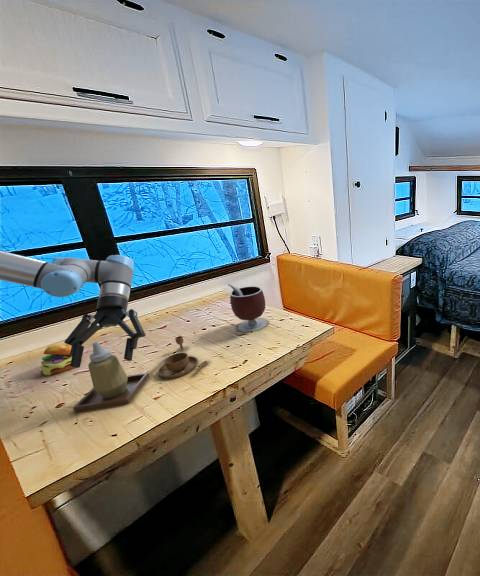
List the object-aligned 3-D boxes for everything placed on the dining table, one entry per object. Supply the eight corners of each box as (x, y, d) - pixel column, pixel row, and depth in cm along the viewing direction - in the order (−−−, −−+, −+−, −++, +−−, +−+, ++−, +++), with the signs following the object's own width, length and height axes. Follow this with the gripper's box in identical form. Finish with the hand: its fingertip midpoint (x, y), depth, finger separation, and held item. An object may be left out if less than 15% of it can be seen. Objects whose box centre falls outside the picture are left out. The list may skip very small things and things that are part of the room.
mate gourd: (275, 320, 143) (268, 280, 136) (256, 335, 130) (248, 291, 124) (246, 318, 147) (238, 278, 140) (226, 331, 134) (216, 289, 127)
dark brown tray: (75, 413, 88) (72, 407, 88) (103, 384, 101) (101, 379, 100) (129, 404, 91) (127, 399, 91) (149, 377, 104) (148, 372, 103)
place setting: (142, 380, 102) (136, 365, 100) (179, 348, 121) (176, 335, 119) (193, 379, 102) (189, 364, 100) (223, 348, 121) (220, 335, 119)
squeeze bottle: (90, 402, 92) (68, 350, 86) (112, 384, 100) (93, 336, 94) (118, 400, 92) (97, 349, 86) (137, 383, 100) (119, 335, 94)
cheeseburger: (32, 376, 106) (28, 348, 105) (68, 365, 116) (65, 339, 115) (56, 377, 104) (53, 349, 103) (90, 366, 115) (87, 340, 114)
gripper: (162, 299, 106) (155, 359, 98) (77, 307, 101) (61, 372, 92) (150, 290, 100) (142, 354, 91) (59, 298, 94) (40, 367, 86)
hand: (101, 363), depth 92 cm, fingers open, 13 cm apart
